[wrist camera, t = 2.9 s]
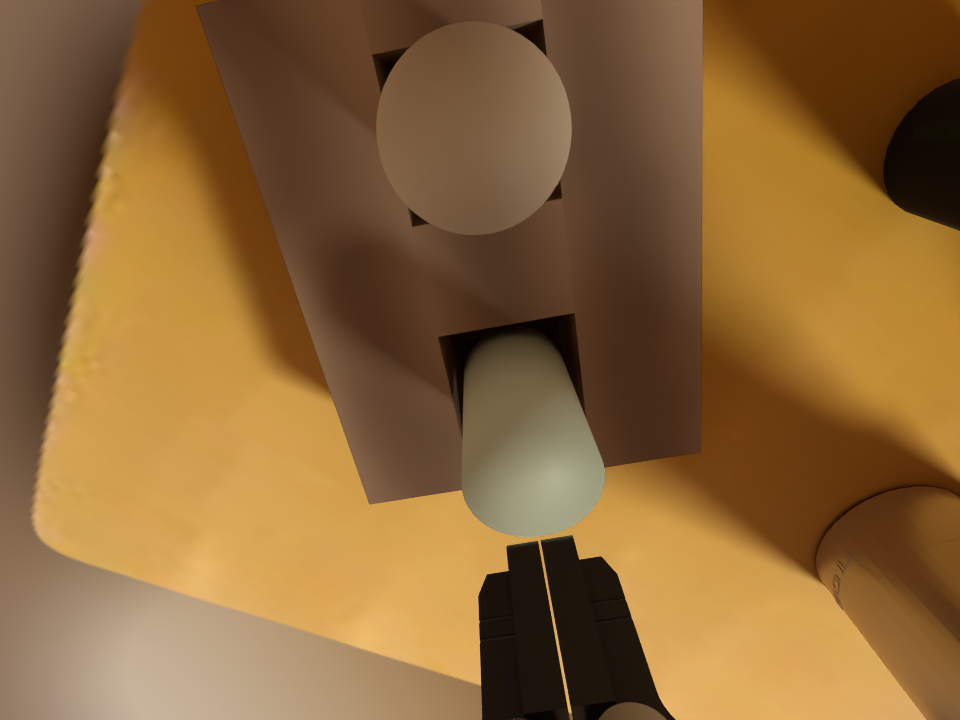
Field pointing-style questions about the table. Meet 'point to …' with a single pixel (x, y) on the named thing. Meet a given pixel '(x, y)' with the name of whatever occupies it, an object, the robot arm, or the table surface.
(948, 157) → the cup
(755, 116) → the table surface
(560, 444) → the peg sage
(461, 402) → the socket block
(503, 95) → the peg birch
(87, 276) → the table surface
